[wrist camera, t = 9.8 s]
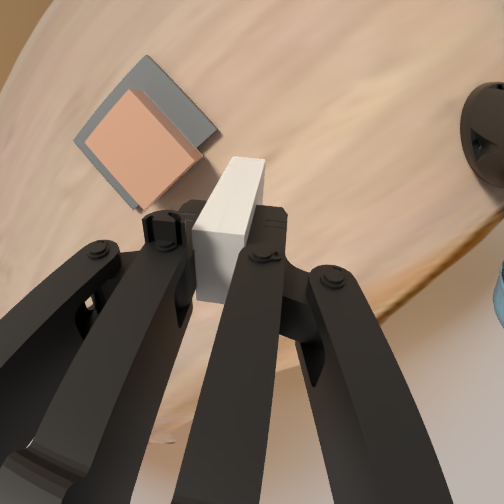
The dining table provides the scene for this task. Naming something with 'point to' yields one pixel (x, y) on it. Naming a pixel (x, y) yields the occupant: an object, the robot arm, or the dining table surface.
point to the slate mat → (164, 97)
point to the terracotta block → (142, 147)
